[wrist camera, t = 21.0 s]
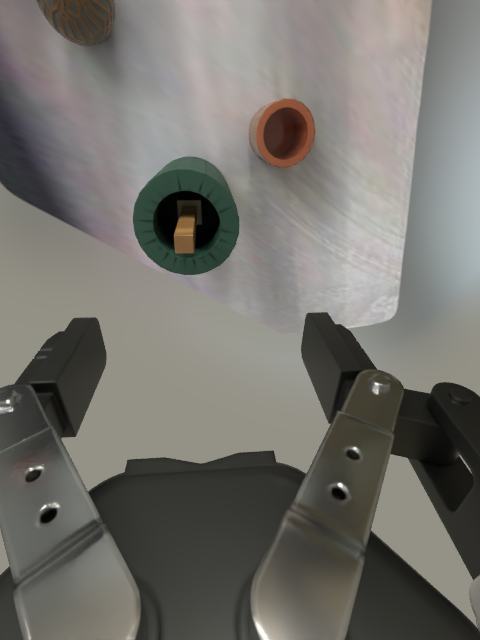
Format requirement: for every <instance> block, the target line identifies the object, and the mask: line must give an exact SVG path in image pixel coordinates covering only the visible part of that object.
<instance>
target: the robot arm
mask: <svg viewBox="0 0 480 640" xmlns="http://www.w3.org/2000/svg"><path fill="white" fill-rule="evenodd" d="M301 352H302V358H303V362H304V364H305V367H306V369H307V372H308V374H309V376H310V379H311V381H312V384H313V386H314V388H315V391H316V393H317V396H318V398H319V401H320V403H321V406H322V408H323V411H324V413H325V416H326V418H327V420H328V423H329V424H330V423H331V425H330V427H329V429H328V431H327V433H326V435H325V437H324V439H323V441H322V443H321V445H320V447H319V449H318V451H317V454H316V456H315V458H314V460H313V462H312V464H311V466H310V468H309V470H308V472H307V474H306V473H304V472H302V471H300V470H298V469H297V468H294V467H292V466H289V465H286V464H282V463H278V462H276V459H275V455H274V451H262V452H261V451H260V452H245V453H237V454H233V455H230V456H227V457H224V458H220V459H217V460H214V461H210V462H207V463H203V464H199V463H193V462H187V461H182V460H176V459H170V458H148V459H133V460H127V465H126V469H125V472H124V473H121V474H118V475H116V476H113V477H111V478H109V479H107V480H105V481H103V482H101V483H100V484H98V485H97V486H95V487H94V488H92V489H91V490H90V491H87V489H86V487H85V485H84V483H83V481H82V479H81V477H80V475H79V473H78V471H77V469H76V468H75V466H74V464H73V462H72V460H71V458H70V456H69V454H68V452H67V450H66V448H65V446H64V444H63V442H62V440H61V438H62V437H76V435H77V432H78V430H79V428H80V425H81V423H82V421H83V418H84V416H85V413H86V411H87V409H88V406H89V404H90V402H91V399H92V397H93V394H94V392H95V390H96V387H97V385H98V382H99V380H100V378H101V376H102V373H103V371H104V368H105V365H106V350H105V346H104V341H103V337H102V333H101V329H100V325H99V321H98V320H97V318H74V319H73V320H72V321H71V322H70V324H69V325H68V327H67V328H66V330H65V331H62V332H58V333H56V334H55V335H53V336H52V337H51V338H49V339H48V340H47V341H46V342H45V344H44V345H43V346H42V347H41V349H40V351H38V353H37V354H36V355H35V358H34V359H33V360H32V361H31V362H30V364H29V365H28V366H27V368H26V369H25V370H24V372H23V373H22V374H21V376H20V377H19V378H18V380H17V381H16V382H15V384H13V385H8V386H5V387H2V388H0V529H1V533H2V537H3V541H4V545H5V549H6V553H7V557H8V561H9V565H10V566H9V567H8V568H7V569H6V570H5V571H4V572H3V573H2V574H1V575H0V640H480V397H479V396H478V395H477V394H476V393H474V392H473V391H471V390H469V389H467V388H465V387H463V386H461V385H458V384H454V383H447V382H444V383H438V384H436V385H435V386H434V387H433V389H432V391H431V393H430V394H429V393H424V392H418V391H413V390H408V389H404V387H403V385H402V384H401V382H400V381H399V380H398V379H396V378H395V377H394V376H392V375H390V374H389V373H386V372H384V371H380V370H377V369H376V367H375V366H374V364H373V363H372V362H371V360H370V359H369V357H368V356H367V354H366V353H365V352H364V350H363V349H362V348H361V346H360V344H359V343H358V342H357V341H356V338H355V337H354V336H353V334H352V333H351V331H349V330H348V329H346V328H345V327H344V326H342V325H341V324H335V323H334V322H333V320H332V319H331V317H330V316H329V314H328V313H327V312H322V313H307V315H306V319H305V325H304V332H303V339H302V345H301ZM390 454H393V455H398V456H402V457H406V458H408V459H409V461H410V463H411V465H412V467H413V468H414V470H415V472H416V474H417V476H418V478H419V480H420V481H421V483H422V485H423V487H424V489H425V491H426V492H427V495H428V496H429V498H430V500H431V502H432V503H433V506H434V508H435V509H436V511H437V513H438V515H439V517H440V518H441V521H442V522H443V524H444V526H445V528H446V530H447V532H448V534H449V535H450V537H451V539H452V541H453V543H454V545H455V547H456V548H457V550H458V552H459V554H460V556H461V558H462V560H463V562H464V563H465V565H466V567H467V569H468V571H469V573H470V575H471V576H472V578H473V582H472V583H471V586H470V591H469V596H470V602H471V606H472V609H473V611H474V614H475V617H476V624H477V627H478V628H477V627H476V626H475V625H474V624H473V623H472V622H471V621H470V620H469V619H468V618H467V617H466V616H465V615H464V614H463V613H462V612H461V611H460V610H459V609H458V608H457V607H456V606H455V605H453V604H452V603H451V602H450V601H449V600H448V599H447V598H446V597H444V596H443V595H442V594H441V593H440V592H439V591H438V590H437V589H436V588H434V587H433V586H432V585H431V584H430V583H429V582H428V581H427V580H426V579H424V578H423V577H422V576H421V575H420V574H418V572H417V571H416V570H414V569H413V568H412V567H411V566H410V565H408V563H407V562H406V561H404V560H403V559H402V558H401V557H400V556H399V555H398V554H396V552H394V551H393V550H392V549H391V548H390V547H389V546H388V545H387V544H385V543H384V542H383V541H382V540H381V539H380V538H379V537H378V536H377V535H375V534H374V533H373V532H372V531H371V527H372V523H373V519H374V515H375V511H376V507H377V504H378V500H379V496H380V492H381V488H382V484H383V480H384V476H385V472H386V468H387V465H388V460H389V457H390ZM459 455H461V456H462V458H463V459H464V460H465V462H466V463H467V465H468V466H469V468H470V469H471V472H472V474H471V472H470V471H469V470H468V468H467V467H466V465H465V464H464V463H463V461H462V459H461V458H460V457H459Z"/></svg>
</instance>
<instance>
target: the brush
mask: <svg viewBox="0 0 480 640" xmlns="http://www.w3.org/2000/svg"><path fill="white" fill-rule="evenodd" d="M177 209H178V223H177V227H176V230H175V233H174V244H175V253H176V254H179V253H194V247H195V236H196V225H202V219H203V202H202V195H200V194H199V193H195V192H192V191H181V192H180V194H179V197H178V199H177Z"/></svg>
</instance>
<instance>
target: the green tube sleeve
mask: <svg viewBox="0 0 480 640" xmlns="http://www.w3.org/2000/svg"><path fill="white" fill-rule="evenodd" d="M181 191H192V192H195V193H199V194H200V195H202V202H203V219H202V225H196V236H195V247H194V253H179V254H176V253H175V244H174V233H175V230H176V227H177V223H178V209H177V199H178V197H179V194H180V192H181ZM133 224H134V230H135V235H136V237H137V239H138V242H139V244H140V246H141V248H142V249H143V250H144V252H145V253H146V254H147V256H148V257H149V258H150V259H151V260H153V261H154V262H155V263H156V264H158V265H159V266H160V267H162V268H164V269H166V270H168V271H170V272H171V271H172V272H174V273H179V274H184V275H194V274H201V273H204V272H208V271H210V270H212V269H214V268H216V267H217V266H219V265H221V264H222V263H223V262H224V261H225V260H226V259H227V258H228V257H229V255H230V253H231V252H232V250H233V248H234V247H235V245H236V241H237V238H238V234H239V216H238V212H237V208H236V204H235V202H234V199H233V197H232V194H231V192H230V189H229V187H228V184H227V182H226V180H225V178H224V177H223V175H222V174H221V172H220V171H219V170H218V169H217V168H216V167H215V166H214V165H212V164H211V163H209V162H208V161H206V160H203V159H201V158H197V157H183V158H179V159H176V160H174V161H172V162H170V163H169V164H167V165H166V166H165V167H164V168H163V169H162V170H161V171H160V172H158V173H157V174H156V175H155V176H154V177H153V178H152V179H151V180H150V181H149V182H148V183H147V184H146V186H145V187H144V188H143V189H142V190H141V192H140V193H139V196H138V198H137V201H136V203H135V206H134V214H133Z"/></svg>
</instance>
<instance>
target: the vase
mask: <svg viewBox="0 0 480 640" xmlns="http://www.w3.org/2000/svg"><path fill="white" fill-rule="evenodd" d="M37 2H38V5H39V7H40V9H41V11H42V13H43V14H44V16H45V18H46V19H47V20H48V22H49V23H50V24H51V25H52V27H53V28H54V29H55V30H56V31H57V32H58V33H60V34H61V35H62V36H63V37H65V38H66V39H68V40H70V41H72V42H74V43H76V44H79V45H83V46H93V45H97V44H99V43H101V42H103V41H104V40H105V39H106V38H107V37H108V36H109V34H110V32H111V30H112V28H113V25H114V20H115V5H114V0H37Z"/></svg>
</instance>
